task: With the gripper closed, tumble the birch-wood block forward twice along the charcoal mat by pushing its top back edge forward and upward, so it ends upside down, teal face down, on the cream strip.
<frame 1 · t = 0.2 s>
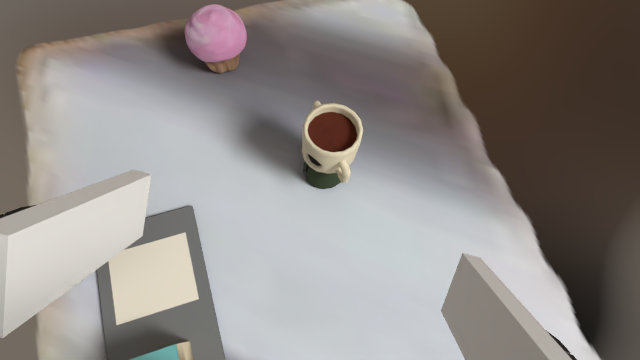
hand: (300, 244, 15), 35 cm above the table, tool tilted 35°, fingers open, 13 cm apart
character mug: (323, 171, 55), on the table
cupcake: (223, 64, 60), on the table
charcoal mat: (162, 324, 45), on the table
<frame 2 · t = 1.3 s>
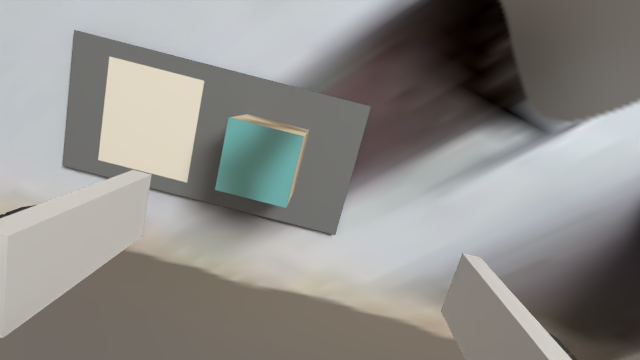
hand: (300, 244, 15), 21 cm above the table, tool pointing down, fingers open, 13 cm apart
charcoal mat: (212, 136, 35), on the table
birch block: (271, 152, 35), point 1 cm above the table, touching charcoal mat
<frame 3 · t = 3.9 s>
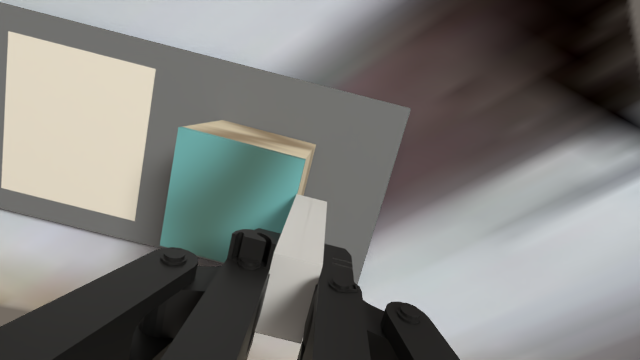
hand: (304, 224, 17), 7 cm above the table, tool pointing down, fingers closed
charcoal mat: (172, 153, 24), on the table
birch block: (259, 178, 23), point 1 cm above the table, touching charcoal mat, gripper
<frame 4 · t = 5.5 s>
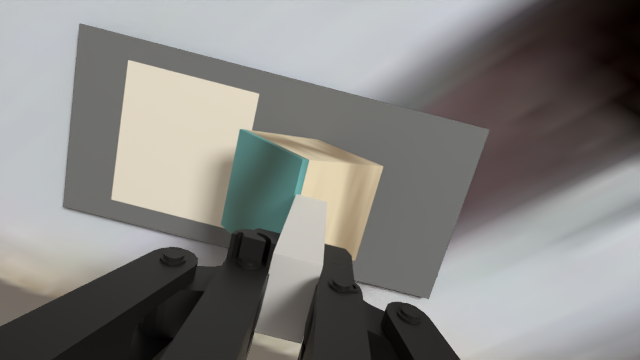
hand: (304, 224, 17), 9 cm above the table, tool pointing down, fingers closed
charcoal mat: (267, 168, 26), on the table
birch block: (335, 196, 23), point 3 cm above the table, tilted 47°, touching charcoal mat, gripper
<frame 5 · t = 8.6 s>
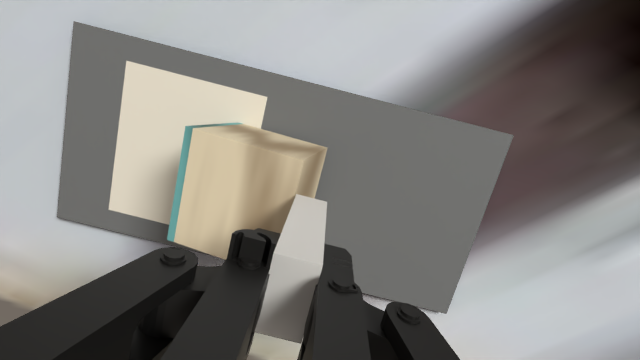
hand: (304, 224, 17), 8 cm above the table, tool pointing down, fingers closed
charcoal mat: (275, 176, 24), on the table
birch block: (304, 205, 20), point 5 cm above the table, tilted 100°, touching charcoal mat, gripper
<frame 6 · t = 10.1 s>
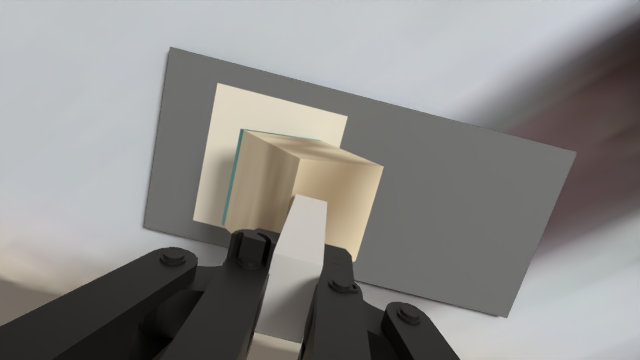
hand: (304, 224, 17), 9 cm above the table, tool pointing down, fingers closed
charcoal mat: (349, 189, 26), on the table
birch block: (331, 217, 19), point 7 cm above the table, tilted 138°, touching charcoal mat
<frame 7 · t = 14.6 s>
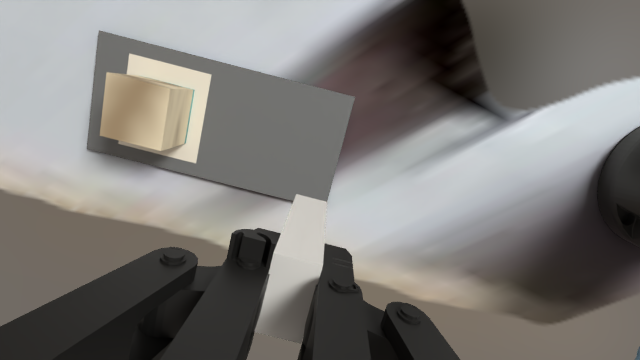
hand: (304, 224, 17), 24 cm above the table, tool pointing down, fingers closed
charcoal mat: (218, 123, 41), on the table
birch block: (134, 112, 34), point 7 cm above the table, tilted 180°, touching charcoal mat
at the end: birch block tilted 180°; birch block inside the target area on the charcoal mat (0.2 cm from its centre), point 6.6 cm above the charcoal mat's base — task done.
